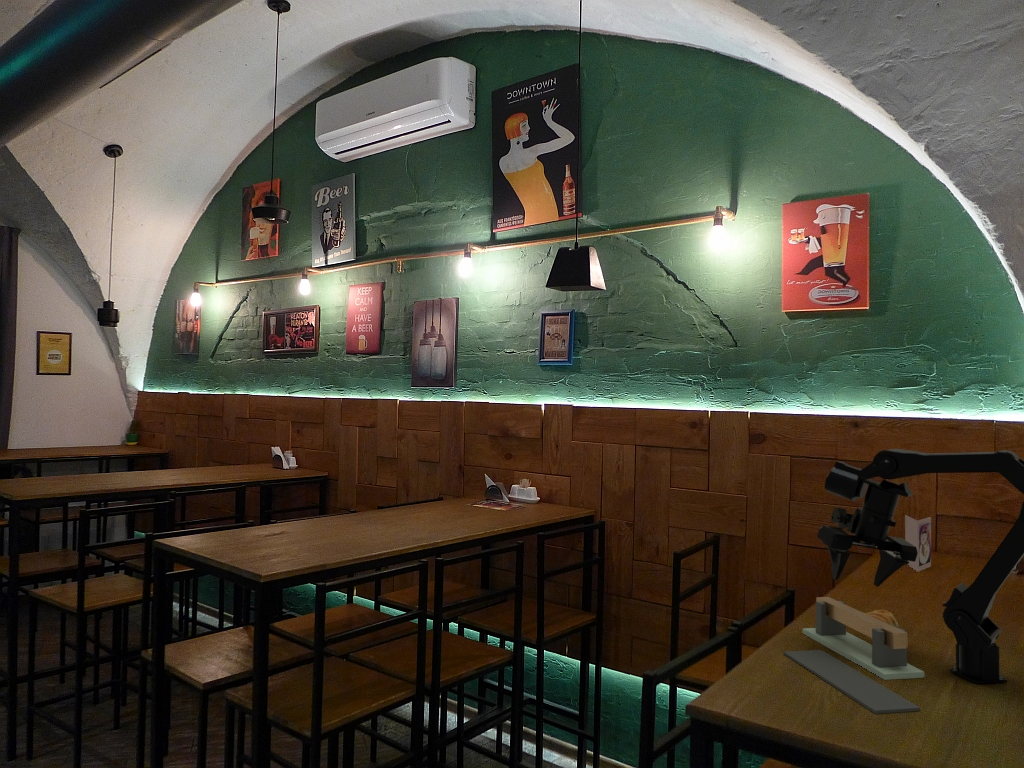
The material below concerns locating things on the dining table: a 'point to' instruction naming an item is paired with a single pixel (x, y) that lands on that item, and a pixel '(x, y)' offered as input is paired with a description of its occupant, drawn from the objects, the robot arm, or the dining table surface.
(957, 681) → the dining table surface
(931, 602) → the dining table surface
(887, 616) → the pastry
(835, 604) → the copper rail
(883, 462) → the robot arm
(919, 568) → the greeting card
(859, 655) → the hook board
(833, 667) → the rubber mat
